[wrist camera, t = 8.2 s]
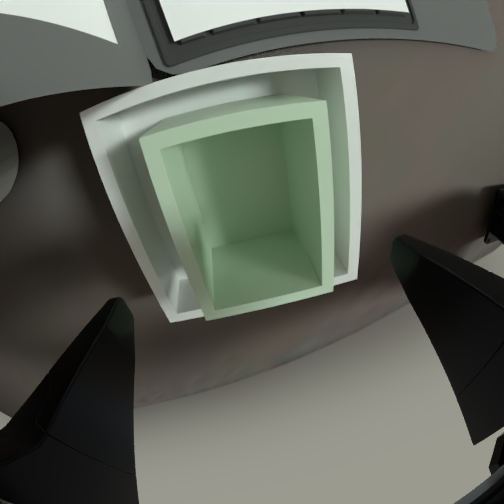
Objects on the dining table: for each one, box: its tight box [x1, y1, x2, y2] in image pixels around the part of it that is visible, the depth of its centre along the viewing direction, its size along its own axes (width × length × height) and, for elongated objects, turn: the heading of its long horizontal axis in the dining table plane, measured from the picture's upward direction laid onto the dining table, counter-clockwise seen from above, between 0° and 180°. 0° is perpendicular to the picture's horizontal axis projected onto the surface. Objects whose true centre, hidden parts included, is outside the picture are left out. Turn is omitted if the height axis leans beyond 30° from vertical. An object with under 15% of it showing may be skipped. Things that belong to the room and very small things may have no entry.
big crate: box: [80, 53, 362, 323], centre depth 15 cm, size 12×13×4 cm
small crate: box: [139, 94, 334, 321], centre depth 13 cm, size 6×9×6 cm
